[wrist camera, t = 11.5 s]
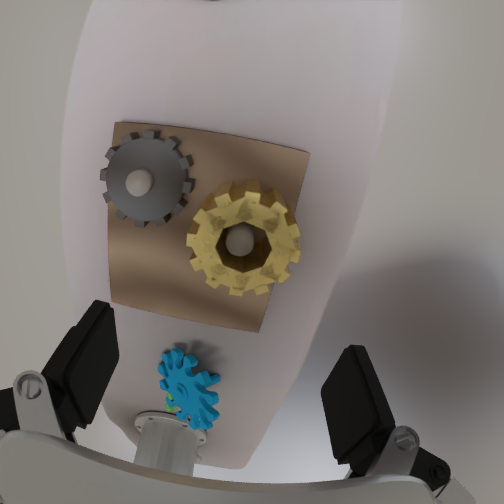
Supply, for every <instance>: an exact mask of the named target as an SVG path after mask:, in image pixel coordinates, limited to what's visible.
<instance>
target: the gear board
mask: <svg viewBox="0 0 504 504" xmlns="http://www.w3.org/2000/svg"><path fill="white" fill-rule="evenodd" d="M309 156H310V153H308V152H305V151H301V150H298V149H294V148H290V147H285V146H281V145H277V144H273V143H268V142H264V141H259V140H254V139H249V138H244V137H239V136H234V135H228V134H223V133H217V132H211V131H204V130H198V129H190V128H183V127H175V126H166V125H157V124H146V123H133V122H115V125H114V133H113V141H112V147H110V148H109V150H108V152H107V153H106V155H105V157H106V158H107V159H109V160H110V162H109V164H108V167H107V168H104V169H102V170H101V171H100V180H103V181H106V184H107V189H108V191H107V192H105V193H104V194H103V197H104V199H105V201H106V203H108V258H109V276H110V289H111V300H112V302H114V303H118V304H122V305H125V306H129V307H133V308H137V309H141V310H145V311H149V312H154V313H158V314H162V315H167V316H171V317H176V318H180V319H185V320H190V321H195V322H200V323H205V324H210V325H216V326H221V327H227V328H232V329H238V330H244V331H251V332H257V333H259V330H260V327H261V324H262V320H263V317H264V314H265V311H266V308H267V304H268V301H269V298H270V295H271V291H272V288H273V285H274V282H273V283H270V284H268V286H269V292H266V293H262V294H259V295H256V292H255V290H254V289H251V290H247V291H244V292H243V293H242V296H237V295H230V294H229V293H230V287H228V286H226V285H223V284H220V285H219V286H218V287H217V288H216V289H214V288H213V287H211V286H210V285H208V284H207V283H206V282H205V280H206V274H205V272H204V270H203V269H201V270H198V271H195V270H194V268H193V266H192V264H191V263H190V261H189V260H190V257H191V255H192V253H193V251H194V250H193V248H192V247H189V246H186V243H187V233H188V231H189V229H190V227H191V226H192V224H193V222H194V220H193V218H194V216H195V214H196V213H197V211H198V209H199V208H200V206H201V204H202V203H203V201H204V200H205V199H206V197H207V196H208V195H209V193H212V194H213V195H216V194H217V192H218V190H219V188H220V186H221V184H223V183H226V182H228V181H231V180H233V182H234V184H235V187H238V186H241V185H243V184H246V182H247V178H248V179H254V180H259V182H260V190H263V191H265V192H268V191H269V189H270V188H271V187H272V186H273V187H274V188H275V189H276V190H277V191H279V192H280V193H281V194H282V197H283V199H284V202H285V204H286V206H287V205H289V206H290V208H291V211H292V213H293V215H294V212H295V209H296V205H297V201H298V198H299V194H300V190H301V187H302V183H303V179H304V175H305V172H306V168H307V164H308V160H309ZM223 230H224V232H225V235H226V237H227V240H226V246H227V249H228V250H229V252H230V253H232V254H233V255H236V256H244V255H247V254H248V253H250V252H251V250H252V248H253V245H254V244H257V243H260V242H262V240H263V238H264V236H265V234H266V231H265V230H263V229H261V228H259V227H256V226H254V225H252V224H249V223H247V222H245V221H244V222H241V223H238V224H235V225H232V226H230V227H227V228H224V229H223Z"/></svg>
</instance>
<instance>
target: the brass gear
mask: <svg viewBox="0 0 504 504" xmlns="http://www.w3.org/2000/svg"><path fill="white" fill-rule="evenodd" d="M193 220H194V222H193V224H192V226H191V227H190V229H189V231H188V233H187V243H186V246H189V247H192V248H193V250H194V251H193V253H192V255H191V257H190V260H189V261H190V263H191V264H192V266H193V268H194V270H195V271H198V270H201V269H203V270H204V272H205V274H206V280H205V282H206V283H207V284H208V285H210V286H211V287H213V288H214V289H216V288H217V287H218V286H219V285H220V284H223V285H226V286H228V287H230V293H229V294H230V295H237V296H242V293H243V292H244V291H247V290H251V289H254V290H255V292H256V295H259V294H262V293H266V292H269V286H268V284H270V283H273V282H276V281H278V282H279V283H281V284H282V283H283V282H284V281H285V280H286V279H287V278H288V277H289V276H290V271H289V266H288V263H289V262H295V263H298V261H299V257H300V254H301V249H300V246H299V243H298V240H297V237H300V236H301V235H300V232H299V229H298V226H297V223H296V220H295V218H294V215H293V213H292V211H291V208H290V206H289V205H287V206H286V204H285V202H284V199H283V197H282V194H281V193H280V192H279V191H277V190H276V189H275V188H274V187H273V186H272V187H271V188H270V189H269V191H268V192H265V191H263V190H260V182H259V180H254V179H248V178H247V182H246V184H243V185H241V186H238V187H235V184H234V182H233V180H231V181H228V182H226V183H223V184H221V186H220V188H219V190H218V192H217V194H216V195H213V194H212V193H209V195H208V196H207V197H206V199H205V200H204V201H203V203H202V204H201V206H200V208H199V209H198V211H197V213H196V214H195V216H194V218H193ZM244 221H245V222H247V223H249V224H252V225H254V226H256V227H259V228H261V229H263V230H265V231H266V234H265V236H264V238H263V240H262V242H260V243H257V244H254V245H253V248H252V250H251V252H250V253H248V254H247V255H244V256H236V255H233V254H232V253H230V252H229V250H228V249H227V246H226V240H227V237H226V235H225V232H224V230H223V229H224V228H227V227H230V226H232V225H235V224H238V223H241V222H244Z"/></svg>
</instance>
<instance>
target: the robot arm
mask: <svg viewBox="0 0 504 504" xmlns="http://www.w3.org/2000/svg"><path fill="white" fill-rule="evenodd" d="M118 360H119V349H118V342H117V334H116V326H115V317H114V309H113V308H111V307H110V304H109V303H107V302H103V301H100V300H95V301H94V302H93V303H92V304H91V306H90V307H89V309H88V310H87V311H86V313H85V314H84V315H83V317H82V318H81V320H80V321H79V322H78V324H77V325H76V326H73V327H72V328H71V329H70V330H69V331H68V333H67V334H66V336H65V337H64V338H63V340H62V341H61V343H60V344H59V346H58V347H57V349H56V350H55V352H54V353H53V355H52V356H51V358H50V359H49V361H48V362H47V364H46V366H45V367H44V369H43V370H42V372H41V373H38V372H36V371H25V372H22V373H21V374H19V375H18V376H17V377H16V379H15V380H14V383H13V387H11V388H8V389H3V390H0V504H475V499H474V497H473V496H472V495H471V494H470V493H469V492H468V491H467V490H466V489H465V488H464V487H463V486H462V485H461V484H460V483H459V482H458V481H457V480H456V479H455V478H454V477H452V478H450V475H451V473H450V468H449V466H448V465H447V463H446V462H445V461H443V460H442V459H440V458H438V457H436V456H435V455H433V454H431V453H429V452H428V451H426V450H424V449H423V448H421V447H419V445H420V440H419V436H418V434H417V433H416V432H415V430H413V429H412V428H410V427H408V426H398V427H396V426H395V420H394V418H393V415H392V412H391V410H390V407H389V405H388V402H387V399H386V397H385V394H384V392H383V389H382V387H381V384H380V382H379V379H378V377H377V375H376V372H375V370H374V368H373V365H372V363H371V360H370V358H369V356H368V353H367V351H366V349H365V347H364V346H362V345H350V346H349V347H348V348H345V349H344V351H343V353H342V354H341V356H340V358H339V360H338V361H337V363H336V365H335V366H334V368H333V370H332V371H331V373H330V375H329V377H328V378H327V380H326V381H325V383H324V384H323V386H322V388H321V397H322V402H323V407H324V411H325V416H326V421H327V426H328V431H329V435H330V441H331V445H332V451H333V456H334V458H335V459H337V461H338V465H340V464H348V463H349V464H350V470H349V472H348V473H347V475H346V476H345V478H344V479H343V480H334V481H323V482H311V483H286V484H285V483H284V484H271V483H269V484H268V483H242V482H231V481H221V480H212V479H204V478H197V477H192V476H193V468H194V461H196V462H200V461H201V457H200V456H199V455H197V448H198V447H199V446H202V445H203V444H205V443H206V441H207V434H206V432H205V430H203V429H201V427H200V428H199V429H197V430H194V429H192V428H191V427H190V426H189V424H188V422H189V421H190V420H187V419H186V420H184V421H180V420H179V418H178V417H177V416H176V415H172V414H167V413H161V412H145V413H141V414H139V415H138V416H137V417H136V419H135V423H134V424H135V427H136V428H137V430H138V431H139V432H140V433H141V436H140V439H139V443H138V447H137V451H136V455H135V459H134V463H130V462H127V461H123V460H121V459H117V458H114V457H111V456H108V455H105V454H102V453H99V452H96V451H93V450H91V449H88V448H86V447H83V446H81V445H78V443H77V440H76V438H75V435H74V433H73V432H74V431H75V429H76V427H77V426H78V427H81V428H83V429H85V428H86V426H87V424H91V423H92V421H93V419H94V416H95V414H96V411H97V409H98V407H99V404H100V402H101V399H102V397H103V395H104V392H105V390H106V388H107V385H108V383H109V381H110V378H111V376H112V374H113V372H114V370H115V367H116V365H117V363H118Z"/></svg>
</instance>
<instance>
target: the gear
mask: <svg viewBox="0 0 504 504" xmlns="http://www.w3.org/2000/svg"><path fill="white" fill-rule="evenodd" d="M161 357H162V360H163V361H164V363H163V364H160V365H159V366H158V371H159V373H160V374H162V375H163V376H164V378H165V379H163V380H160V387H161V389H162V390H166V391H168V393H167V396H168V397H167V398H166V401H167V403H168V404H166V405H165V407H166V409H167V410H168V411H172V410H174V409H177V408H178V406H179V407H180V408H181V411H178V412H176V415H177V417H178V418H179V420H180V421H184V420H186V419H188V414H189V415H190V417H191V420H190V421H189V422H188V424H189V426H190V427H191V428H192V429H194V430H197V429H199V428H200V427H201V429H203V430H208V429H210V428H211V427H213V424H212V421H214V420H216V419H218V417H219V416H220V414H219V412H218V411H217V410H215V409H214V408H212V407H211V406H212V405H214V404H216V403H218V400H219V399H218V394H217V393H216V392H214V391H208V390H206V389H205V388H206V387H208V386H210V385H213V384H215V383H217V382H219V381H220V377H219V375H217V374H215V375H213V376H209V373H208V371H202V372H199V373H197V375H196V374H193V373H192V371H191V367H194V366H196V365H197V364H198V361H197V359H196V358H195V357H194V356H193V355H192V354H190V355H187V356H185V357H184V353H183V351H182V350H181V349H179V348H175V349H172V350H171V352H169V353H165V354H162V355H161ZM183 357H184V363H183V366H182V364H181V359H182V358H183ZM199 419H200V421H199Z"/></svg>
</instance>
